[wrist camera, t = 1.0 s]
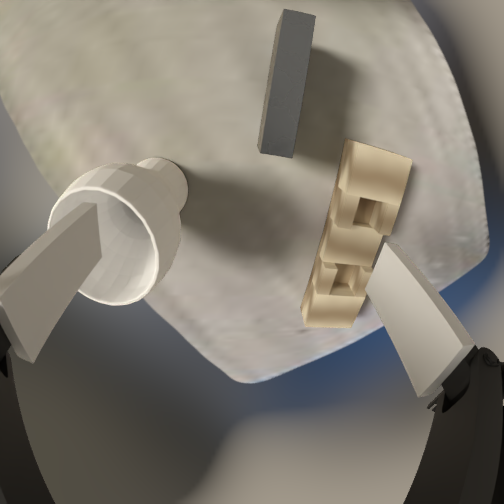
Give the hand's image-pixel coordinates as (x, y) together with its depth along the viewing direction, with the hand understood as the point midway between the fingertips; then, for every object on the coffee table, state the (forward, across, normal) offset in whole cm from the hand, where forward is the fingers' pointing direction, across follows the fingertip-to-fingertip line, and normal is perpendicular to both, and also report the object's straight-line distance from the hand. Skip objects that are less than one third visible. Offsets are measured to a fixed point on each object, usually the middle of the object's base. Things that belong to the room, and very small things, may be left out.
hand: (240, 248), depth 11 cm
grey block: (+20, +2, +9) cm, 22 cm away
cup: (+20, -10, -5) cm, 22 cm away
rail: (+20, +15, -7) cm, 25 cm away
